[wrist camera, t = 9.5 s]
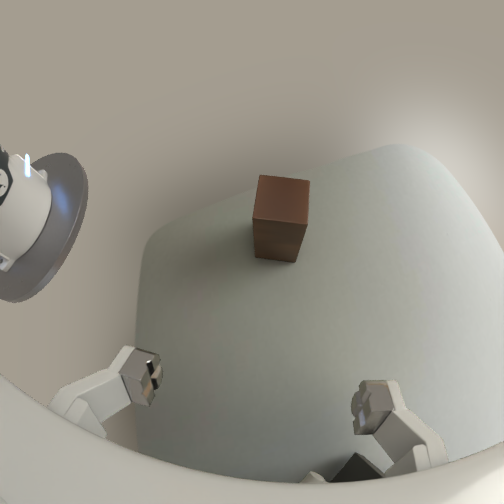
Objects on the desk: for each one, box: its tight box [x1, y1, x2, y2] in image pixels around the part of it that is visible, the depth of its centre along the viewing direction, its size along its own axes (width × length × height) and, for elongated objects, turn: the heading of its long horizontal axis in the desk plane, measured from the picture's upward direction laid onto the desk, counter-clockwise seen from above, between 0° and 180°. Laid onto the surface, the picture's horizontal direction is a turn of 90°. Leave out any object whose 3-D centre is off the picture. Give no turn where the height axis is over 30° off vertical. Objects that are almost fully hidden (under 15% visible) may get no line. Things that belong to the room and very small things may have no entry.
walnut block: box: [252, 175, 310, 262], centre depth 24 cm, size 4×4×8 cm
